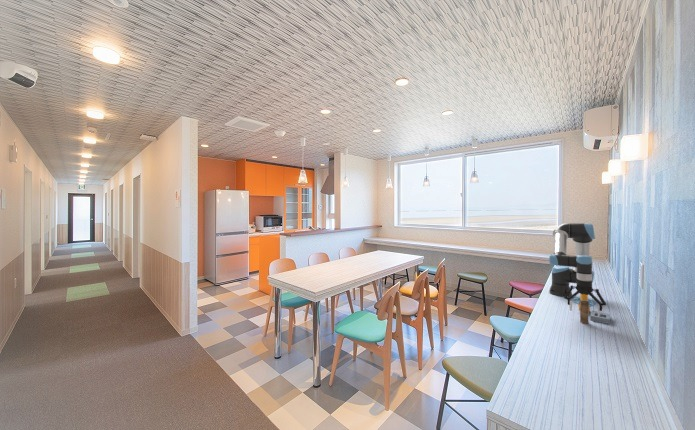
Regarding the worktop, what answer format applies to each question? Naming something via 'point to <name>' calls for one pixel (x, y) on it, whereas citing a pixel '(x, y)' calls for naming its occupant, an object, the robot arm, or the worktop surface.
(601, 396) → the worktop surface
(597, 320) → the socket plate
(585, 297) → the yellow and blue toy
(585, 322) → the peg
